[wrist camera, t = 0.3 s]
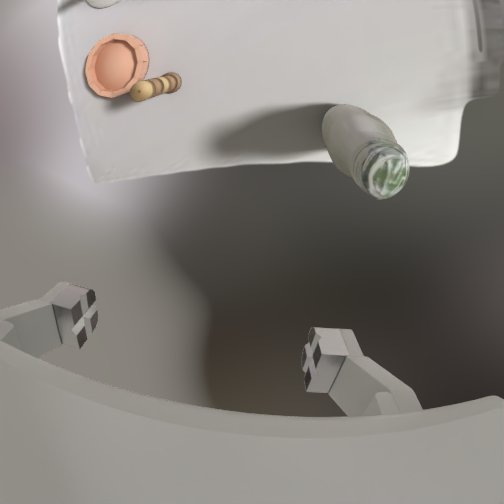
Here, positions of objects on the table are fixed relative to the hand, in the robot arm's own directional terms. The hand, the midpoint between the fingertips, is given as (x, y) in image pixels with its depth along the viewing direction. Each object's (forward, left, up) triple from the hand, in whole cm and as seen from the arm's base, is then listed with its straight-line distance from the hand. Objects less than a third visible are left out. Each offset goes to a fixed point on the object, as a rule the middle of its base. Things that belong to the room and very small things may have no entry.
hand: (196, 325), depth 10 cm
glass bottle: (-10, +12, -51) cm, 53 cm away
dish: (+16, -28, -51) cm, 61 cm away
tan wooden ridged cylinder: (+11, -16, -51) cm, 55 cm away
